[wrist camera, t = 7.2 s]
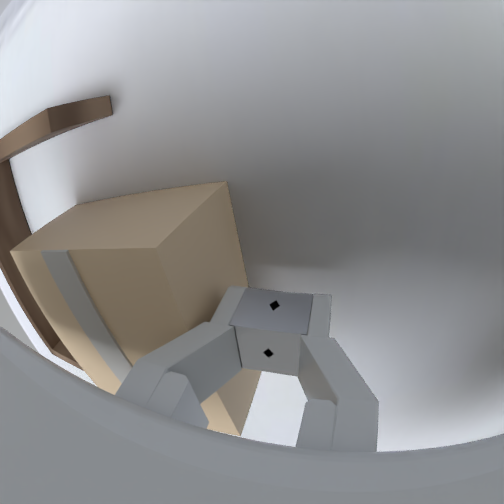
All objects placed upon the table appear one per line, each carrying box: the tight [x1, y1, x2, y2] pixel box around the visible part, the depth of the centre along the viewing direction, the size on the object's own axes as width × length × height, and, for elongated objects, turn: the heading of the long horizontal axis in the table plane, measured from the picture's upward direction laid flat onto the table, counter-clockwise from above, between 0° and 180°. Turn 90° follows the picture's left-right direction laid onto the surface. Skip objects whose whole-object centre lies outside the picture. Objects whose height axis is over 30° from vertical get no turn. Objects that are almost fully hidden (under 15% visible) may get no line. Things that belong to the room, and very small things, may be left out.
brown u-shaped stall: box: [0, 96, 112, 371], centre depth 12 cm, size 11×15×3 cm
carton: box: [10, 181, 261, 436], centre depth 11 cm, size 8×9×5 cm
